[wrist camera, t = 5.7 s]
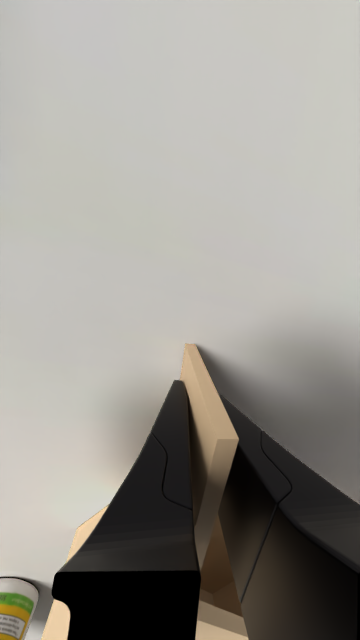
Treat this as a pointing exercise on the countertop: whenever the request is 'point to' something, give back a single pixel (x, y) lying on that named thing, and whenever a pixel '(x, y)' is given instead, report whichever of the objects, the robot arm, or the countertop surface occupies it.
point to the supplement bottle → (16, 608)
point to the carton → (214, 601)
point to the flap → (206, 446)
